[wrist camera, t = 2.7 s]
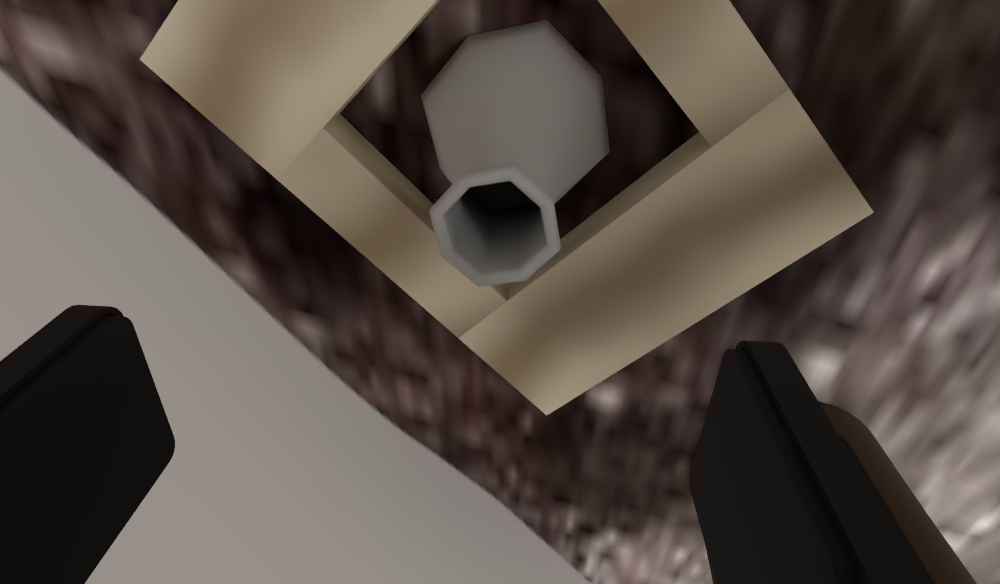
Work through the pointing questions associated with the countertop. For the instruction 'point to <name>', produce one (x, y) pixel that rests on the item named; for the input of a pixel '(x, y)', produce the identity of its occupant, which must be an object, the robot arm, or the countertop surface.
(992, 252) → the countertop surface
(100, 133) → the countertop surface
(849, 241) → the countertop surface
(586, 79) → the flask
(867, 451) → the olive oil
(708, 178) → the tan flat rectangular frame
